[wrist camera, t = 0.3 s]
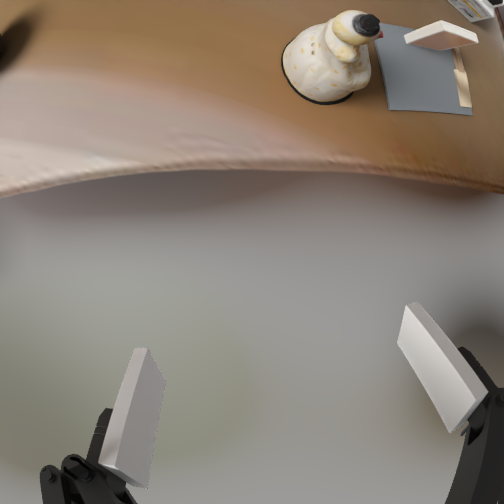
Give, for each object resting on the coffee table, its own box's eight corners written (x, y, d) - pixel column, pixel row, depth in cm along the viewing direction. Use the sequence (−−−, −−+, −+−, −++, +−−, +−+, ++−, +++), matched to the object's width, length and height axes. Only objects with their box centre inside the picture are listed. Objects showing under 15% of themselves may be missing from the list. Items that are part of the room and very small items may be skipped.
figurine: (357, 105, 32) (453, 94, 14) (286, 105, 32) (341, 77, 14) (346, 34, 28) (424, -19, 9) (276, 31, 28) (312, -48, 9)
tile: (403, 35, 26) (440, 20, 17) (438, 42, 26) (475, 33, 17) (406, 43, 27) (444, 30, 18) (440, 51, 27) (478, 43, 18)
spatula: (443, 31, 25) (446, 30, 24) (453, 35, 25) (457, 34, 24) (460, 106, 31) (463, 106, 30) (469, 107, 31) (473, 107, 30)
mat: (368, 22, 26) (369, 21, 26) (455, 41, 26) (457, 41, 25) (388, 110, 32) (390, 109, 32) (470, 115, 32) (472, 115, 31)
